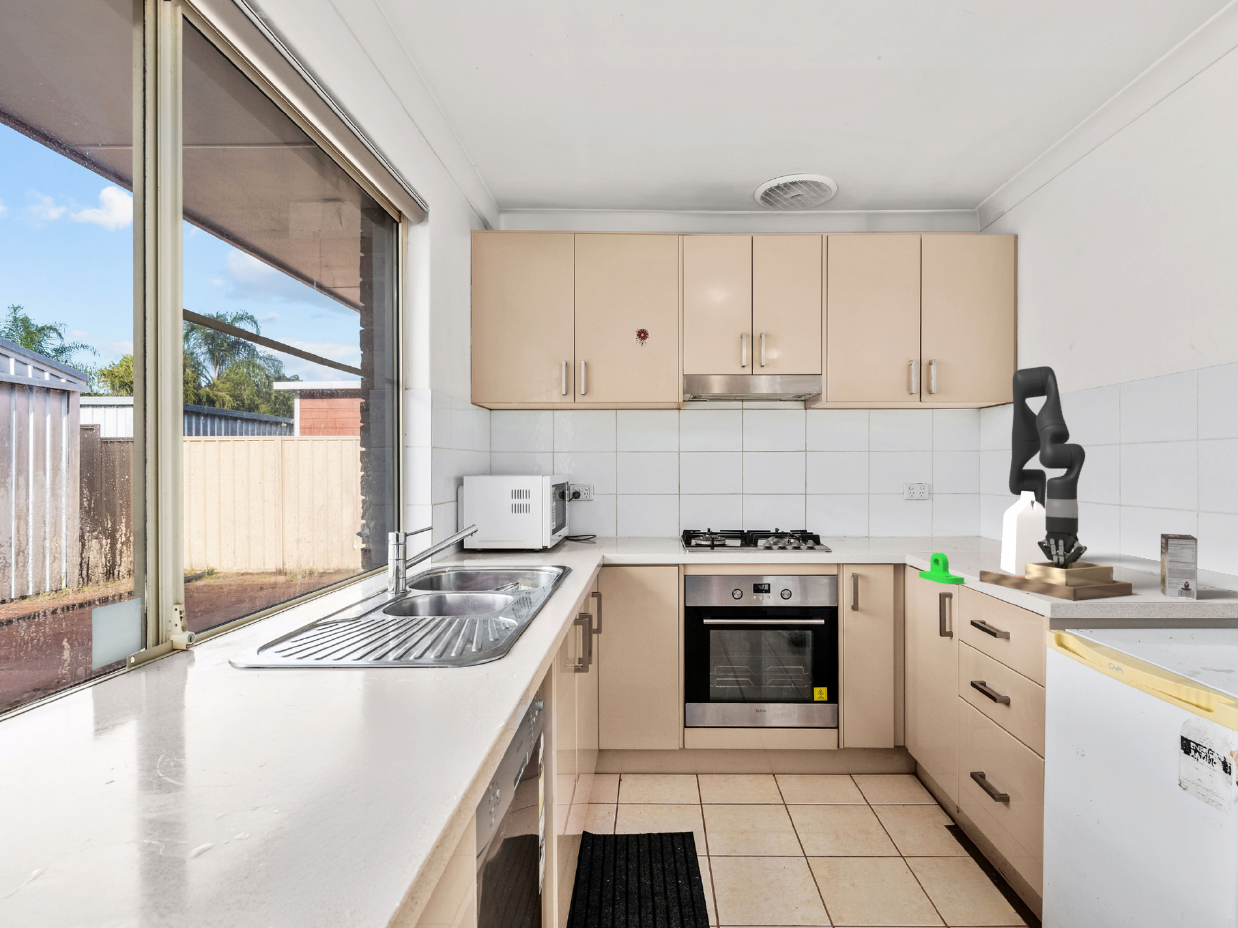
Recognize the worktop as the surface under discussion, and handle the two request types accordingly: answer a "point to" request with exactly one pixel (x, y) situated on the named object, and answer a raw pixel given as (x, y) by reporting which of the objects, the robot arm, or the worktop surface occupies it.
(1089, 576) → the crate
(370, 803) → the worktop surface
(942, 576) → the mechanical part
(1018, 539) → the milk
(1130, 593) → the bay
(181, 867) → the worktop surface
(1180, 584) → the coffee box
